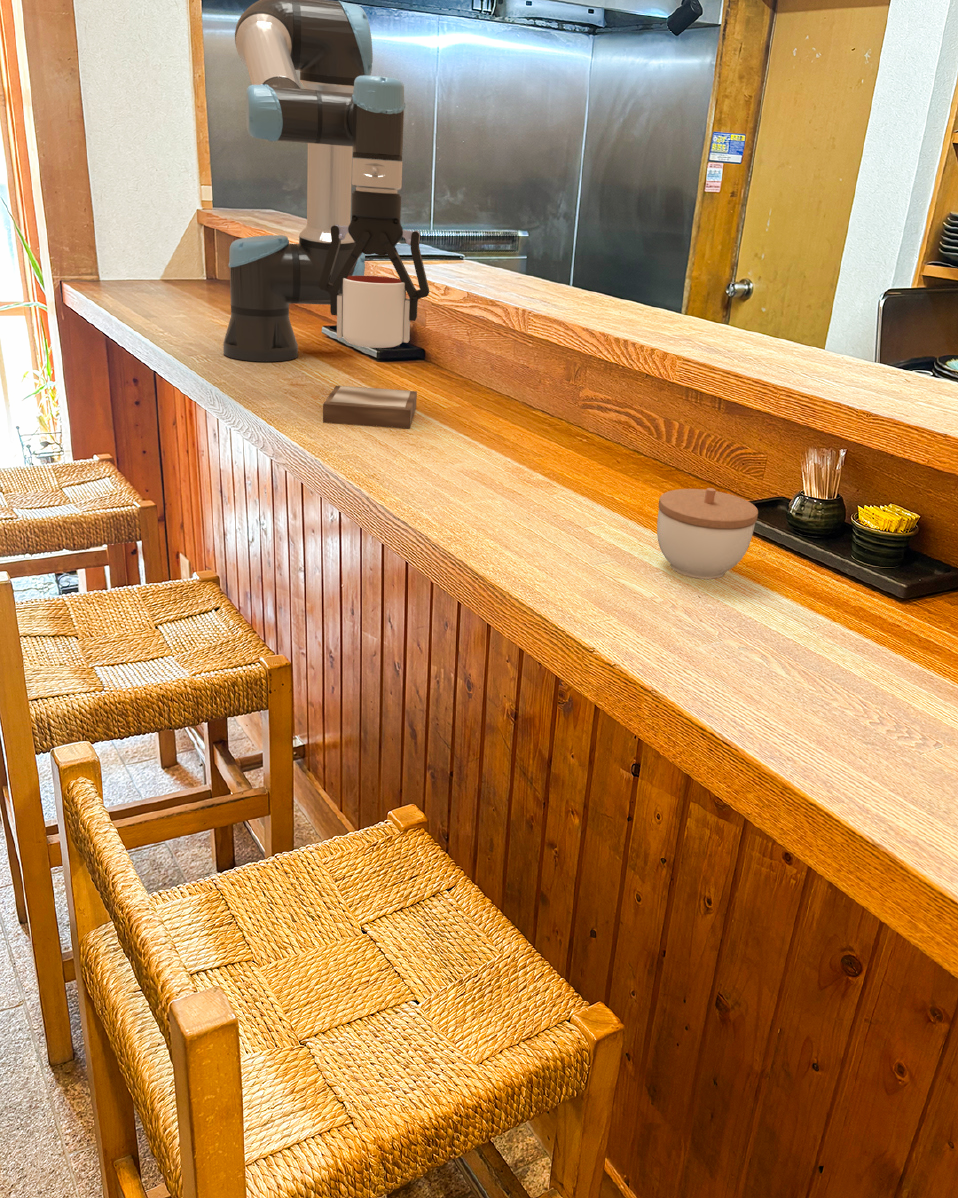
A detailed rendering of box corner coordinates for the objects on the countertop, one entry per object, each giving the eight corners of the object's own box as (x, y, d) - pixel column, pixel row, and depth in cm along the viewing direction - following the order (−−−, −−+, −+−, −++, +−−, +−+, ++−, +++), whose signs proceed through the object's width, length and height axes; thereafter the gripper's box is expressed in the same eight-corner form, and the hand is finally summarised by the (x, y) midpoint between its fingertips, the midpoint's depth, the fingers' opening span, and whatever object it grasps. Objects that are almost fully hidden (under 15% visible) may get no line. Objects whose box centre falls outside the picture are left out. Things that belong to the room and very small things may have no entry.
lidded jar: (762, 571, 111) (778, 492, 107) (715, 596, 104) (731, 512, 100) (680, 544, 117) (693, 468, 113) (631, 565, 110) (642, 485, 106)
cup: (394, 351, 154) (396, 285, 149) (333, 345, 155) (334, 279, 151) (411, 341, 163) (413, 279, 158) (353, 335, 164) (354, 273, 160)
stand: (335, 402, 170) (335, 383, 169) (416, 408, 170) (416, 389, 169) (322, 422, 157) (323, 402, 156) (409, 428, 158) (410, 408, 156)
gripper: (298, 185, 146) (299, 337, 155) (449, 196, 146) (441, 347, 155) (307, 184, 153) (307, 330, 162) (451, 195, 153) (443, 339, 162)
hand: (373, 338), depth 159 cm, fingers closed on cup, 10 cm apart
